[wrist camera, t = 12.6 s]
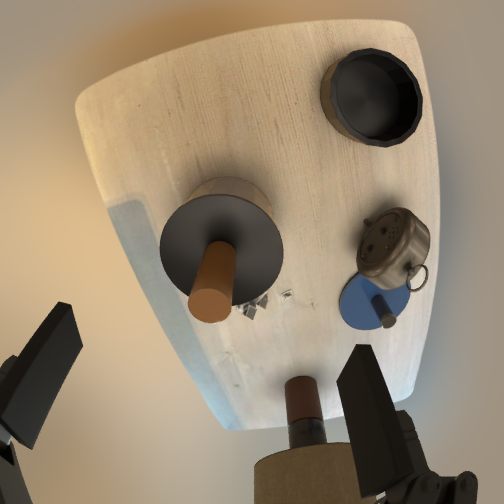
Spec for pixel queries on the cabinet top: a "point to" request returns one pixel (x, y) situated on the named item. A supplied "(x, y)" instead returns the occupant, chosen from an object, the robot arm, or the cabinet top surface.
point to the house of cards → (250, 307)
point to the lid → (220, 253)
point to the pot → (235, 191)
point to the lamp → (307, 458)
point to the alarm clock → (393, 249)
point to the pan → (372, 98)
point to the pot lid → (371, 304)
